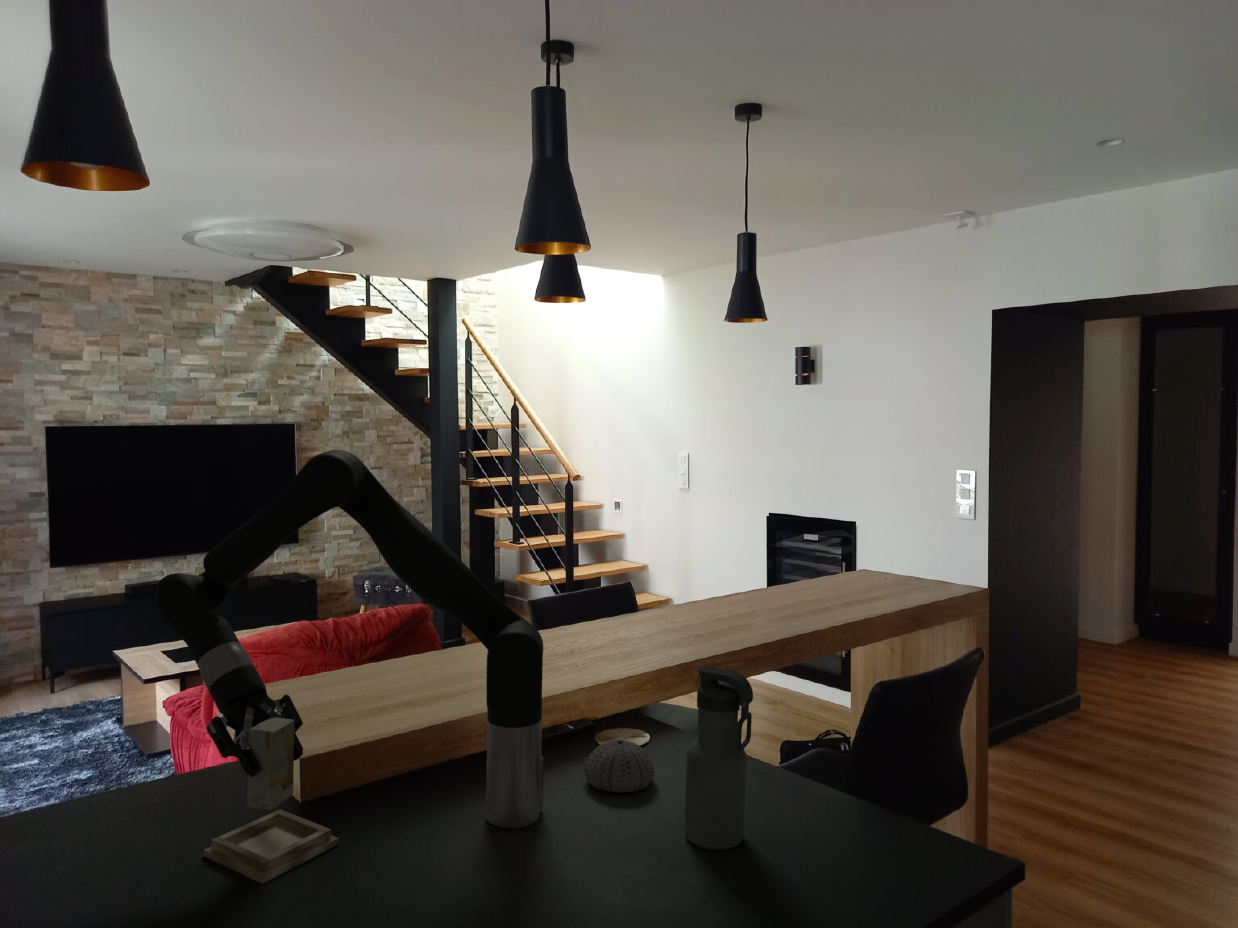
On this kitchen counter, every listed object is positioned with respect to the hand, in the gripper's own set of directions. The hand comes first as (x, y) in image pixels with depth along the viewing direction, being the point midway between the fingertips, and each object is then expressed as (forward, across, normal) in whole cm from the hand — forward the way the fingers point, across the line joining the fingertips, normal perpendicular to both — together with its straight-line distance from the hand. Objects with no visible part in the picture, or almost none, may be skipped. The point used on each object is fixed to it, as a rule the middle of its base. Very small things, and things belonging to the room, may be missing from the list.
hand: (278, 765), depth 136 cm
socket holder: (+9, 0, +11) cm, 14 cm away
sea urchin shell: (+32, +52, -12) cm, 62 cm away
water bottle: (+48, +43, -29) cm, 71 cm away
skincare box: (+3, 0, +6) cm, 6 cm away
